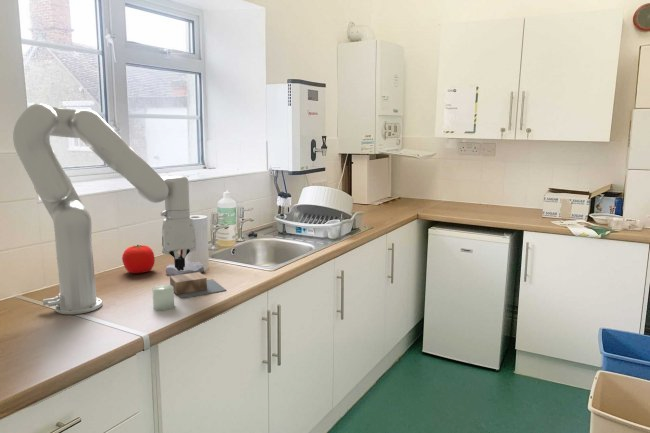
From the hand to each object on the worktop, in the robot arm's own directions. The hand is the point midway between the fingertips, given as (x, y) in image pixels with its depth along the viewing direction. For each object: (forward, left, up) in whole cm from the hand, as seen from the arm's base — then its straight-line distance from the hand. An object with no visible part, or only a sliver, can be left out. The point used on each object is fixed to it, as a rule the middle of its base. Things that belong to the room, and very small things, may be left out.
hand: (179, 269), depth 163 cm
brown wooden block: (-2, 0, -5) cm, 6 cm away
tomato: (-7, +30, -8) cm, 32 cm away
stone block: (+8, +20, -8) cm, 23 cm away
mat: (+6, 0, -8) cm, 9 cm away
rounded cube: (-8, -12, -8) cm, 16 cm away
